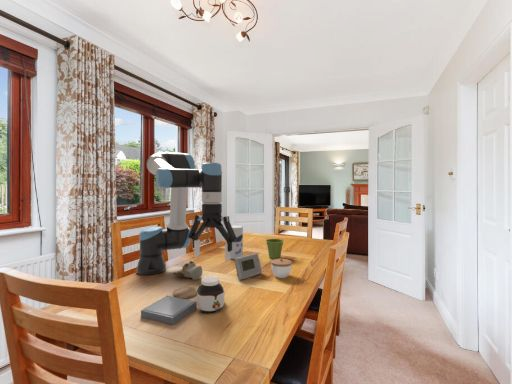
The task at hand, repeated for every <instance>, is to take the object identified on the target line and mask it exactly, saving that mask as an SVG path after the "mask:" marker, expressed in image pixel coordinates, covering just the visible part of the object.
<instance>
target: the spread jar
mask: <svg viewBox="0 0 512 384" xmlns="http://www.w3.org/2000/svg"><path fill="white" fill-rule="evenodd" d="M200 281H201V284H200V285H199V286H198V288H197V289H196V290H197V294H196V301H197V308H198V309H199V310H200V311H201V313H204V314H215V313H217V312H218V311H220V310H221V309H222V308H223V307H224V303H225V294H226V293H225V289H224V288H223V286H222V284H221V283H220V277H218V276H215V275H208V276H203V277H202V278H201V280H200Z"/></svg>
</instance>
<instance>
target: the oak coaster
mask: <svg viewBox="0 0 512 384" xmlns="http://www.w3.org/2000/svg"><path fill="white" fill-rule="evenodd" d="M197 290H198V289H196V288H194V287H187V286H185V287H180V288H177V289H175V290H173V291H172V297H177V298H182V299H187V300H188V299H191V298H193V297H195V296H197Z"/></svg>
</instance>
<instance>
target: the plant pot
mask: <svg viewBox="0 0 512 384" xmlns="http://www.w3.org/2000/svg"><path fill="white" fill-rule="evenodd" d="M265 242H266V246H267V252H268V258H269V259H271V260H274V259H280V258H282V257H281V255H282V250H283V245H284V242H285V241H284V240H283V239H279V238H267V239H266V240H265Z"/></svg>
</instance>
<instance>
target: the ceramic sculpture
mask: <svg viewBox="0 0 512 384" xmlns="http://www.w3.org/2000/svg"><path fill="white" fill-rule="evenodd" d="M173 274H174V275H175V276H176V277H179V278H187V279H192V280H193V281H198V280H199V279H200V278H201V277H202V276H203V268H202V266H201V265H198V266H197V264H196V263H195V262H194V261H189V262H187V263H185V264H183V265H182V268H181V270H179V271H177V272H173Z"/></svg>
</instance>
